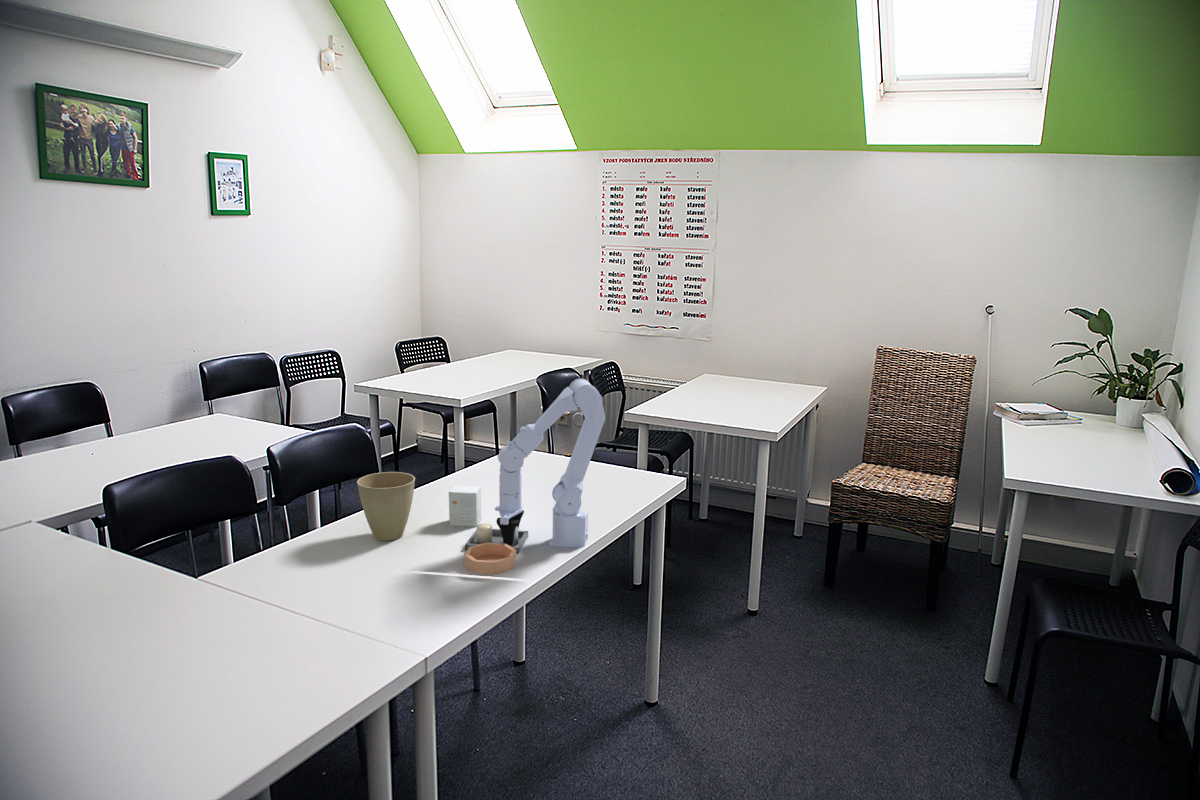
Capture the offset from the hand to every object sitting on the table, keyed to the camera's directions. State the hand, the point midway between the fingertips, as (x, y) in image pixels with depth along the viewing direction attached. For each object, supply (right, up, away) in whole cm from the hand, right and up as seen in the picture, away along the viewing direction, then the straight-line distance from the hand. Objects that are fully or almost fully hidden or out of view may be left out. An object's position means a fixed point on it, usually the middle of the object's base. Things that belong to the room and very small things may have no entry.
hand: (510, 541), depth 206 cm
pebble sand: (-7, 0, +1) cm, 7 cm away
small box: (-14, +2, +15) cm, 21 cm away
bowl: (-4, -4, -12) cm, 13 cm away
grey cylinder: (0, -1, 0) cm, 1 cm away
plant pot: (-34, 0, +5) cm, 34 cm away
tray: (-3, -1, +1) cm, 4 cm away
